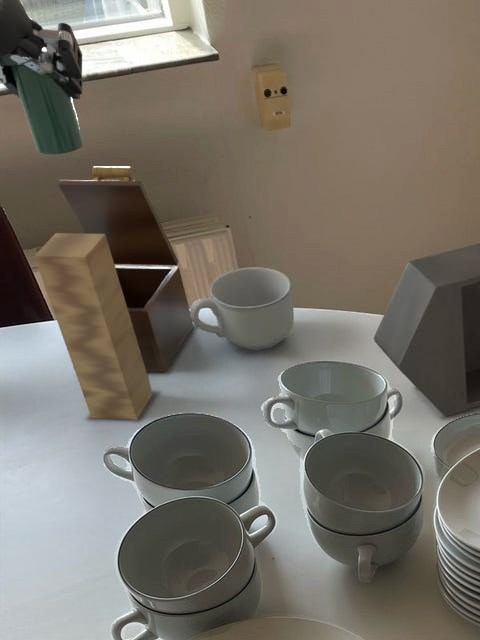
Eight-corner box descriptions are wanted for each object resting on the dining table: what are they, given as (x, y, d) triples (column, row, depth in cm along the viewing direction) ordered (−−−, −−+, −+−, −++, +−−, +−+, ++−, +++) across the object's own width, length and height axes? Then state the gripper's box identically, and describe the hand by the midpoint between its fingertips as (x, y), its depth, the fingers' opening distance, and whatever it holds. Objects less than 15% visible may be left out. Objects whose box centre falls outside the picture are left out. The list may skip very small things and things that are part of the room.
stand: (91, 418, 127) (33, 255, 112) (108, 392, 131) (55, 232, 116) (137, 419, 126) (85, 256, 112) (153, 393, 131) (105, 233, 116)
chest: (164, 372, 134) (147, 311, 128) (88, 370, 135) (67, 309, 129) (193, 326, 143) (178, 266, 137) (122, 324, 144) (104, 265, 138)
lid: (139, 185, 124) (148, 154, 126) (57, 184, 125) (67, 153, 127) (177, 265, 136) (185, 236, 138) (102, 264, 137) (111, 234, 139)
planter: (391, 299, 111) (554, 255, 117) (365, 271, 116) (523, 231, 122) (405, 429, 123) (552, 384, 129) (380, 399, 128) (523, 357, 134)
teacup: (291, 314, 145) (282, 260, 139) (306, 350, 137) (297, 295, 132) (194, 332, 142) (180, 278, 136) (204, 370, 134) (190, 314, 129)
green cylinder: (29, 154, 112) (-1, 64, 106) (48, 137, 116) (20, 50, 109) (73, 155, 112) (46, 64, 105) (91, 138, 115) (66, 50, 109)
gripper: (39, -48, 94) (115, 56, 111) (-109, -45, 95) (-12, 58, 112) (38, 32, 94) (114, 124, 111) (-111, 35, 95) (-13, 126, 112)
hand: (50, 90), depth 111 cm, fingers closed on green cylinder, 5 cm apart
